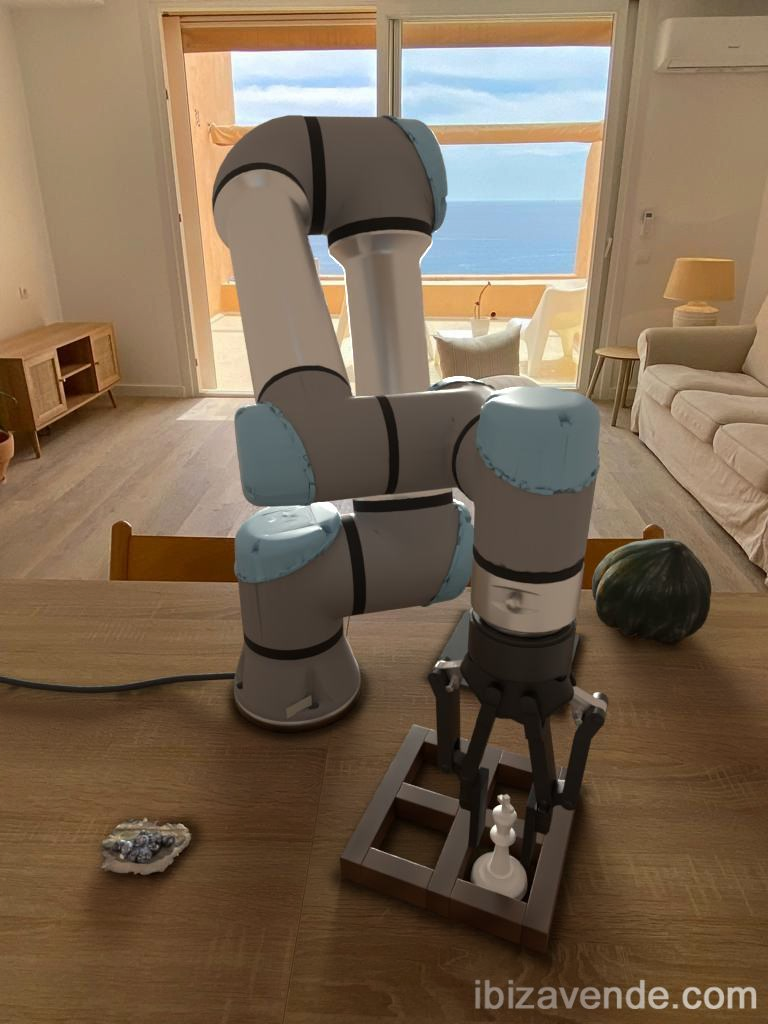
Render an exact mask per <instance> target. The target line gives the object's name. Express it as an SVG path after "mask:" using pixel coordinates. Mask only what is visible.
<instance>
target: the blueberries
mask: <svg viewBox="0 0 768 1024" xmlns="http://www.w3.org/2000/svg"><path fill="white" fill-rule="evenodd" d="M158 822H159V819H157V820H156V821H154V823H153V821H151V822H150V821H148V818H147V817H144V818H143V820H142V821H141V820H140V819H138V820H137V819H136V820H135V819H133V818H132V819H125V821H124V822H121V823H120V824H118V825H117V826H116V827H115V828H114V829H113V830H112V831H111V834H108V837H106V838H104V839H103V840H102V841H100V843H101V844H100V846H101V847H102V848H103V849H102V850H101V851H100V853H101V856H104V857H105V858H106V859H105V860H104V861H103V862H102V864H101V865H102V866H101V867H100V869H103V872H107V871H111V872H112V873H118V874H128V873H133V875H137V874H139V873H140V875H143V876H146V875H150V874H152V873H156V872H160V873H162V872H164V871H165V870H166V869H167V867H168V866H170V865H172V864H173V862H174V861H175V859H174V858H176V857H178V856H180V854H179V853H182V852H183V851H184V849H185V848H187V847H188V846H189V845H190V841H192V833H190V832H189V828H188V827H185V826H184V824H181V823H178V824H176V823H174V824H170V823H168V822H166V823H165V824H164V825H160V826H159V825H156V824H157V823H158Z"/></svg>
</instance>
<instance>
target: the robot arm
mask: <svg viewBox="0 0 768 1024" xmlns="http://www.w3.org/2000/svg"><path fill="white" fill-rule="evenodd" d="M448 187H449V186H448V178H447V169H446V165H445V158H444V154H443V152H442V149H441V145H440V143H439V141H438V139H437V137H436V134H435V133H434V132H433V130H432V129H431V128H429V126H428V125H427V124H426V123H425V122H423V121H422V120H419V119H415V118H406V117H396V116H394V115H389V114H384V115H381V116H328V115H327V116H325V115H322V116H320V115H301V114H299V115H297V114H293V115H292V114H288V115H283V116H279V117H275V118H270V119H269V120H267V121H264V122H262V123H260V124H258V125H256V126H255V127H253V128H252V129H250V130H249V131H247V132H246V133H244V135H243V136H242V137H241V138H240V139H238V141H236V143H235V144H234V145H233V146H232V147H231V148H230V150H229V151H228V152H227V154H226V155H225V156H224V159H223V160H222V162H221V164H220V166H219V168H218V171H217V173H216V176H215V178H214V183H213V186H212V194H211V207H212V208H211V210H212V216H213V223H214V226H215V230H216V233H217V235H218V237H219V239H220V240H221V242H222V243H223V244H224V245H225V247H226V248H228V249H229V255H230V260H231V265H232V272H233V277H234V284H235V290H236V297H237V302H238V308H239V312H240V320H241V325H242V331H243V337H244V342H245V349H246V354H247V360H248V361H247V362H248V366H249V372H250V373H249V374H250V379H251V385H252V389H253V395H254V402H255V404H247V405H243V406H241V407H239V408H238V409H237V410H236V411H235V414H234V419H233V421H234V422H233V423H234V434H235V446H236V452H237V460H238V471H239V477H240V486H241V490H242V494H243V497H244V498H245V500H246V501H247V502H248V503H249V504H251V505H252V506H255V507H258V508H259V507H260V508H263V509H261V510H259V511H257V512H255V513H254V514H253V515H252V516H250V517H249V518H247V519H246V520H245V521H244V522H243V523H242V524H241V526H240V527H239V528H238V530H237V531H236V534H235V538H234V559H235V560H234V565H233V570H234V571H233V572H234V575H235V577H236V578H237V584H238V585H237V586H238V594H239V595H238V596H239V605H240V617H241V625H242V627H241V628H242V634H243V635H242V636H243V644H242V647H241V651H240V655H239V659H238V663H237V665H236V670H235V671H231V672H230V671H229V672H211V673H192V674H191V673H190V674H179V675H170V676H163V677H157V678H152V679H146V680H141V681H135V682H129V683H121V684H111V685H72V684H71V685H69V684H59V683H48V682H38V681H31V680H27V679H25V680H24V679H19V678H15V677H10V676H5V675H1V674H0V684H6V685H10V686H15V687H20V688H26V689H32V690H40V691H48V692H49V691H50V692H59V693H70V694H71V693H72V694H74V693H75V694H108V693H121V692H129V691H134V690H140V689H146V688H149V687H156V686H161V685H162V686H163V685H168V684H176V683H187V682H207V681H208V682H209V681H223V680H224V681H225V680H226V681H227V680H233V695H234V696H233V697H234V701H235V702H234V703H235V705H236V708H237V710H238V712H239V713H240V714H241V715H242V717H243V718H245V719H246V720H247V721H248V722H250V723H251V724H253V725H255V726H257V727H260V728H262V729H265V730H269V731H274V732H280V733H300V732H301V733H302V732H308V731H313V730H317V729H320V728H323V727H326V726H328V725H330V724H332V723H334V722H336V721H338V720H339V719H341V718H343V717H344V716H345V715H346V714H347V713H349V712H350V711H351V709H353V707H354V706H355V705H356V703H357V702H358V700H359V698H360V694H361V692H362V691H361V689H362V683H361V681H362V679H361V677H362V676H361V670H360V666H359V663H358V661H357V659H356V657H355V655H354V652H353V649H352V647H351V645H350V642H349V640H348V638H347V636H346V633H345V628H344V627H345V626H344V618H348V617H353V616H359V615H360V616H361V615H367V614H373V613H380V612H387V611H393V610H401V609H407V608H409V609H410V608H414V607H415V608H417V607H421V608H427V607H430V606H431V605H434V604H439V603H444V602H448V601H452V600H454V599H457V598H458V597H460V596H461V595H462V594H463V593H464V591H465V590H466V589H467V586H468V584H469V583H470V605H471V607H470V609H469V612H470V613H469V631H468V652H467V653H466V655H465V657H464V660H456V661H451V659H450V658H449V657H447V656H444V655H442V656H441V655H439V656H438V657H437V659H436V661H435V663H434V665H433V666H432V669H431V670H430V672H429V674H428V675H427V680H428V681H427V682H428V683H429V685H430V689H431V690H432V693H433V695H434V697H435V714H436V715H435V717H436V721H435V722H436V731H437V753H438V763H437V768H438V770H439V771H440V772H441V773H443V774H446V775H447V774H454V775H455V776H456V777H457V779H458V781H459V792H458V793H459V795H458V796H459V797H458V800H459V805H460V807H461V809H465V810H468V811H470V824H469V841H468V847H471V848H473V850H474V849H475V850H477V849H478V847H479V845H480V844H479V841H480V838H481V836H482V833H483V830H484V827H485V821H486V808H487V794H488V780H489V769H488V768H484V767H480V769H479V766H480V764H481V761H482V758H483V755H484V752H485V749H486V746H487V745H488V743H489V740H490V737H491V734H492V731H493V729H494V725H495V721H496V719H502V720H512V721H514V722H516V723H518V724H520V725H523V731H524V737H525V740H527V743H528V744H527V745H528V751H529V757H530V760H531V767H532V774H533V785H532V788H531V791H529V795H528V799H527V802H526V806H525V814H524V821H525V822H524V832H523V841H522V851H521V858H520V861H519V862H520V864H521V865H522V866H525V867H527V868H530V865H531V862H532V861H531V858H532V854H533V850H534V847H535V843H536V836H537V832H538V833H541V834H544V835H547V833H548V832H549V830H550V826H551V822H552V817H553V809H554V807H555V806H557V805H561V806H562V807H563V808H564V809H566V810H570V811H571V810H574V809H575V810H576V809H577V805H578V801H579V797H580V793H581V787H582V783H583V779H584V774H585V770H586V765H587V761H588V757H589V752H590V747H591V744H592V743H591V742H592V739H593V738H594V737H595V736H596V734H597V733H598V732H599V731H600V730H601V728H602V727H603V726H604V724H605V722H606V718H607V717H606V716H607V711H608V708H609V707H608V706H609V701H610V700H609V697H608V696H607V694H605V693H604V692H594V693H592V694H591V693H588V692H587V691H585V690H584V689H582V688H580V687H578V686H577V679H576V676H575V675H574V673H573V670H572V666H571V664H572V665H573V663H572V656H573V649H574V641H575V634H576V633H577V619H576V618H577V617H578V614H579V609H580V601H581V594H582V585H583V581H584V571H585V562H584V561H585V556H586V551H587V546H588V545H587V544H588V539H589V531H590V525H591V517H592V510H593V503H594V499H595V498H594V497H595V492H596V491H595V490H596V483H597V476H598V473H599V471H600V462H601V457H600V456H599V455H600V451H599V445H600V431H601V414H600V411H599V408H598V407H597V406H596V404H595V403H594V401H592V400H591V399H590V398H589V397H587V396H585V395H583V394H581V393H578V392H575V391H565V390H563V389H561V388H559V387H558V388H557V387H552V386H551V387H550V386H538V385H537V386H536V385H535V386H534V385H533V386H532V385H531V386H530V385H528V386H513V387H507V388H504V389H497V388H495V387H494V386H493V385H492V384H486V383H485V382H483V381H482V380H477V379H474V378H472V377H468V376H460V375H459V376H451V377H446V378H444V379H441V380H440V381H438V382H435V383H434V384H433V385H432V386H431V377H430V375H431V374H430V364H429V352H428V341H427V340H428V339H427V329H426V318H425V317H426V315H425V304H424V292H423V281H422V268H421V261H422V260H423V257H424V256H425V255H426V254H427V252H428V251H429V250H430V249H431V248H432V246H433V233H437V232H438V231H440V229H441V228H442V226H443V224H444V223H445V219H446V214H447V210H448V209H447V208H448V205H447V204H448V203H447V200H446V199H447V196H448V194H449V192H448V190H449V189H448ZM309 236H310V237H311V236H323V237H324V236H325V237H326V240H327V250H328V255H329V257H331V258H332V259H333V260H334V261H335V262H336V263H337V264H339V266H341V267H342V269H343V273H344V283H345V284H344V285H345V295H346V306H347V317H348V327H349V338H350V347H351V348H350V349H351V359H352V369H353V382H354V391H355V396H354V395H353V393H352V386H351V383H350V379H349V376H348V373H347V372H348V371H347V369H346V365H345V362H344V358H343V355H342V352H341V348H340V345H339V341H338V340H339V339H338V338H337V334H336V331H335V327H334V323H333V319H332V316H331V313H330V312H331V311H330V310H329V305H328V303H327V297H326V295H325V291H324V289H323V285H322V281H321V277H320V274H319V270H318V267H317V263H316V261H315V256H314V254H313V249H312V247H311V242H310V239H309ZM454 488H456V489H458V490H459V492H461V493H462V494H463V495H464V496H465V497H466V498H467V499H468V500H469V501H470V502H473V507H474V510H473V511H474V514H473V515H474V517H473V523H472V515H471V512H470V509H469V508H468V507H467V506H466V504H464V503H463V502H461V501H458V500H457V499H454V493H453V489H454ZM351 499H352V509H353V510H352V513H342V514H340V512H339V511H338V509H337V508H336V506H334V505H333V504H332V503H330V502H335V501H344V500H351ZM463 678H464V679H465V681H466V682H467V684H468V685H469V687H470V688H471V689H470V690H471V692H472V693H473V694H474V697H475V698H476V699H477V700H478V702H479V704H480V707H479V711H478V714H477V717H476V719H475V725H474V728H473V731H472V734H471V738H470V739H469V740H470V744H469V747H468V750H467V753H466V754H465V753H463V752H461V751H460V750H461V738H462V737H461V687H460V684H461V682H462V680H463ZM568 704H569V705H570V706H571V708H572V712H571V717H572V719H573V720H574V724H575V725H576V727H575V731H574V736H573V739H572V744H571V748H570V754H569V759H568V764H567V767H566V768H567V773H566V777H565V780H557V776H556V768H555V765H556V762H555V761H556V759H555V752H554V746H553V745H554V743H553V735H552V727H551V716H553V715H554V714H556V713H557V712H558V710H559V711H560V710H561V709H562V708H563V707H565V706H566V705H568ZM487 809H488V808H487Z"/></svg>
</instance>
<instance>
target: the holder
mask: <svg viewBox="0 0 768 1024" xmlns="http://www.w3.org/2000/svg"><path fill="white" fill-rule="evenodd" d="M470 740H471V739H466V738H462V737H461V750H460V751H461V752H463V753H465V754H466V753H467V750H468V747H469V744H470ZM424 760H425V761H429V762H432V763H435V764H438V753H437V730H434V729H430V728H427V727H423V726H419V725H416V724H412V725H411V727H410V729H409V731H408V732H407V734H406V736H405V738H404V740H403V741H402V743H401V745H400V747H399V749H398V750H397V753H396V755H395V756H394V758H393V760H392V762H391V763H390V764H389V765H390V766H389V767H388V769H387V771H386V772H385V774H384V776H383V778H382V780H381V782H380V784H379V785H378V787H377V789H376V790H375V792H374V795H373V796H372V798H371V800H370V802H369V804H368V806H367V807H366V809H365V811H364V813H363V815H362V816H361V818H360V820H359V822H358V823H357V826H356V827H355V829H354V831H353V833H352V834H351V837H350V838H349V840H348V842H347V843H346V846H345V847H344V849H343V851H342V853H341V854H340V856H339V864H340V877H341V878H343V879H345V880H348V881H351V882H353V883H356V884H359V885H361V886H363V887H367V888H369V889H371V890H374V891H377V892H379V893H382V894H385V895H388V896H389V897H393V898H396V899H398V900H401V901H403V902H406V903H409V904H412V905H414V906H417V907H419V908H422V909H424V910H426V911H429V912H432V913H435V914H437V915H440V916H442V917H445V918H447V919H448V918H449V919H451V920H452V921H453V920H454V921H456V922H458V923H461V924H464V925H467V926H468V927H469V926H470V927H472V928H474V929H478V930H480V931H483V932H484V933H485V932H486V933H488V934H490V935H493V936H496V937H499V938H501V939H504V940H506V941H509V942H512V943H514V944H517V945H520V946H522V947H524V948H526V949H529V950H532V951H535V952H538V953H541V954H543V955H546V952H547V947H548V943H549V938H550V933H551V928H552V923H553V919H554V914H555V909H556V904H557V900H558V896H559V890H560V885H561V881H562V875H563V872H564V871H563V870H564V866H565V862H566V857H567V851H568V847H569V843H570V838H571V833H572V828H573V823H574V819H575V813H576V809H574V810H571V811H570V810H566V809H564V808H563V807H562V806H561V805H557V806H555V807H554V809H553V817H552V822H551V826H550V830H549V832H548V833H547V835H544V834H541V833H538V832H537V836H536V843H535V847H534V850H533V854H532V858H531V862H532V863H535V864H537V865H536V868H535V872H534V877H533V881H532V884H531V889H530V893H529V897H528V901H527V902H524V901H522V900H520V901H519V900H516V899H514V898H511V897H508V896H505V895H502V894H500V893H497V892H494V891H491V890H488V889H486V888H483V887H480V886H477V885H474V884H472V883H471V882H469V881H466V880H463V878H464V875H465V874H466V873H465V872H466V871H467V867H468V865H469V862H470V859H471V855H472V852H473V850H474V848H471V847H468V841H469V824H470V811H468V810H465V809H461V807H460V805H459V799H457V798H453V797H451V796H447V795H444V794H441V793H437V792H435V791H431V790H428V789H425V788H422V787H419V786H415V785H412V783H413V781H414V779H415V777H416V775H417V773H418V771H419V769H420V768H421V765H422V763H423V761H424ZM480 767H484V768H488V769H489V780H488V794H487V808H486V821H485V827H484V830H483V833H482V836H481V838H480V841H479V844H478V845H482V846H485V847H488V848H491V849H495V845H496V844H495V843H494V842H493V841H492V839H491V837H490V831H491V829H492V828H493V827H494V826H495V825H496V824H495V822H494V819H493V816H492V813H493V810H492V809H489V808H488V807H489V805H490V801H491V799H492V796H493V793H494V792H495V791H494V790H495V788H496V785H497V782H498V783H502V784H505V785H508V786H511V787H514V788H519V789H522V790H525V791H529V792H531V788H532V785H533V774H532V767H531V760H530V756H527V755H523V754H519V753H516V752H512V751H509V750H505V749H503V748H502V749H501V748H498V747H495V746H492V745H488V744H487V746H486V749H485V752H484V755H483V758H482V761H481V764H480V766H479V769H480ZM555 768H556V776H557V780H565V777H566V773H567V768H568V767H565V766H562V765H558V764H555ZM396 817H399V818H401V819H404V820H408V821H411V822H413V823H416V824H419V825H423V826H426V827H428V828H432V829H434V830H438V831H440V832H443V833H446V834H447V837H446V840H445V842H444V845H443V846H442V847H443V848H442V850H441V853H440V855H439V857H438V861H437V863H436V865H435V867H434V869H433V868H430V867H427V866H424V865H421V864H419V863H416V862H413V861H410V860H407V859H405V858H402V857H399V856H396V855H393V854H390V853H387V852H386V851H385V852H384V851H382V850H379V849H380V847H381V846H382V843H383V841H384V840H385V838H386V835H387V833H388V832H389V830H390V827H391V825H392V823H393V822H394V819H395V818H396ZM524 822H525V819H520V818H518V817H517V820H516V822H515V824H514V825H513V826H512V829H513V830H514V832H515V836H516V839H515V842H514V843H513V844H512V845H510V846H508V849H509V855H511V856H513V857H517V858H520V859H521V851H522V841H523V832H524Z"/></svg>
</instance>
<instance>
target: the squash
mask: <svg viewBox="0 0 768 1024" xmlns="http://www.w3.org/2000/svg"><path fill="white" fill-rule="evenodd" d="M591 590H592V591H591V594H592V597H593V600H594V602H595V604H594V605H595V613H596V615H597V617H598V618H599V619H600V621H601V622H603V623H604V624H605V625H606V626H607V627H609V628H612V629H619V631H620V632H621V633H622V634H623V635H624V636H626V637H634V636H636V635H637V636H638V638H639V639H641V640H644V641H654V642H656V643H658V644H661V645H663V646H675V645H677V644H679V643H682V641H683V640H684V639H686V638H689V637H691V636H692V635H694V634H695V633H697V632H698V631H699V630H700V629H701V628H702V627H703V626H704V624H705V623H706V622H707V618H708V616H709V612H710V608H711V596H712V582H711V579H710V575H709V573H708V571H707V569H706V567H705V566H704V565H703V563H702V562H701V560H700V559H699V558H698V556H696V555H695V553H694V552H693V551H692V549H690V547H688V546H687V545H686V544H684V542H682V541H680V540H678V539H674V538H652V539H645V540H638V541H632V542H629V543H628V544H625V545H623V546H620V547H617V548H616V549H613V550H612V551H610V552H609V553H608V554H607V555H606V556H605V557H604V558H603V559H602V560H601V561H600V563H599V564H598V565H597V567H596V568H595V569H594V573H593V576H592V581H591Z"/></svg>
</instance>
